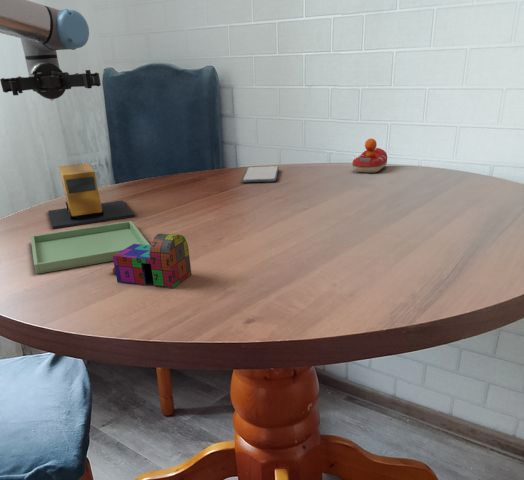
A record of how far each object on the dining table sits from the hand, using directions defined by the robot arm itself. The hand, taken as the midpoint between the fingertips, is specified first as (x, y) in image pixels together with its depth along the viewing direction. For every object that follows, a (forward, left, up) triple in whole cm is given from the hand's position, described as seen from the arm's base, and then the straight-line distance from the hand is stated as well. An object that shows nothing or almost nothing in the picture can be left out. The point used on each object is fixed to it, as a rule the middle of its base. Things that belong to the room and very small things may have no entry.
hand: (54, 83), depth 110 cm
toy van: (0, -10, -24) cm, 26 cm away
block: (+5, -52, -25) cm, 58 cm away
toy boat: (+73, -5, -25) cm, 77 cm away
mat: (+1, -10, -25) cm, 27 cm away
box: (-2, -34, -25) cm, 42 cm away
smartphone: (+46, +4, -25) cm, 52 cm away
